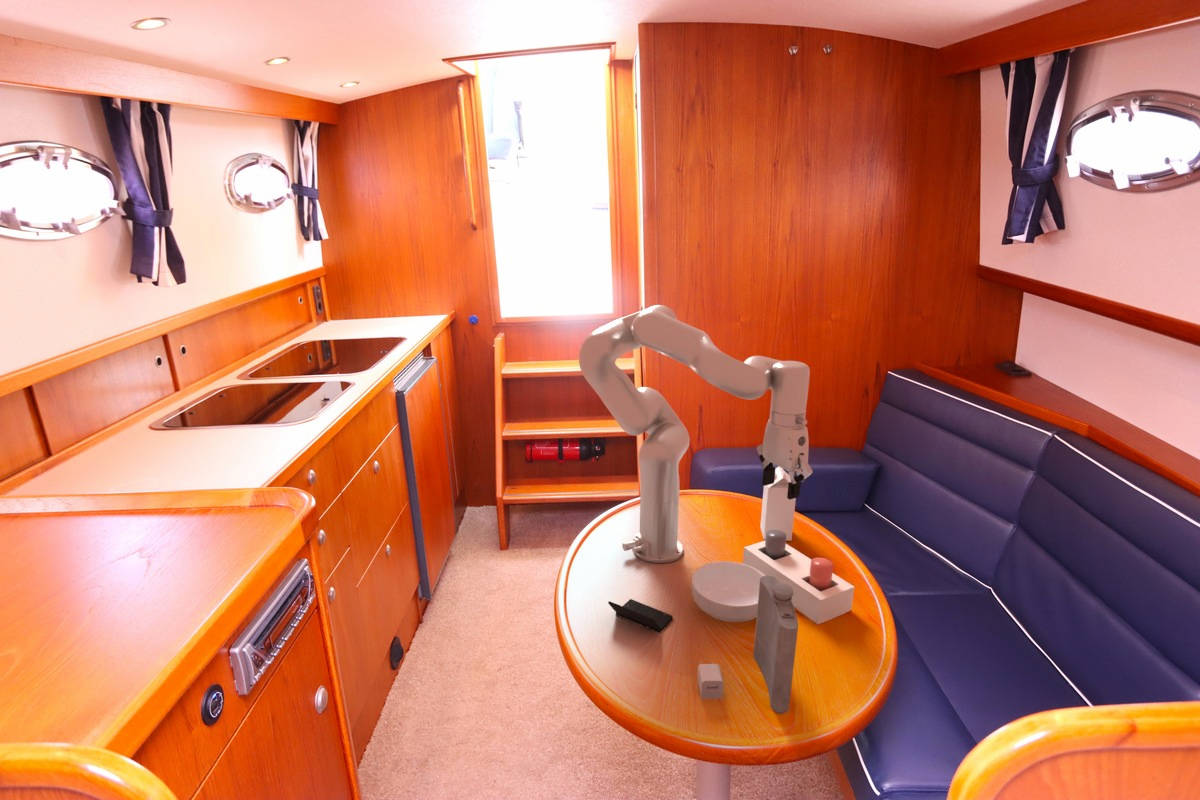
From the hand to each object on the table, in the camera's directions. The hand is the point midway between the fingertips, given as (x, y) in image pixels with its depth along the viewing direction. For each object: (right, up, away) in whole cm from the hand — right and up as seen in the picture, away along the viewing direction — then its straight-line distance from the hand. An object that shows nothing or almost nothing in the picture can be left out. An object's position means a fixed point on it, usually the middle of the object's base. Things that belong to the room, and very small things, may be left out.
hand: (780, 490), depth 150 cm
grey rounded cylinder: (0, -16, +5) cm, 17 cm away
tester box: (+3, -23, +1) cm, 23 cm away
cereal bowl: (-13, -25, -7) cm, 29 cm away
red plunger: (+7, -20, -7) cm, 22 cm away
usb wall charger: (-21, -32, -28) cm, 48 cm away
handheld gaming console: (-32, -27, -10) cm, 43 cm away
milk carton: (+6, -15, +25) cm, 30 cm away
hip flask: (-9, -32, -27) cm, 43 cm away
